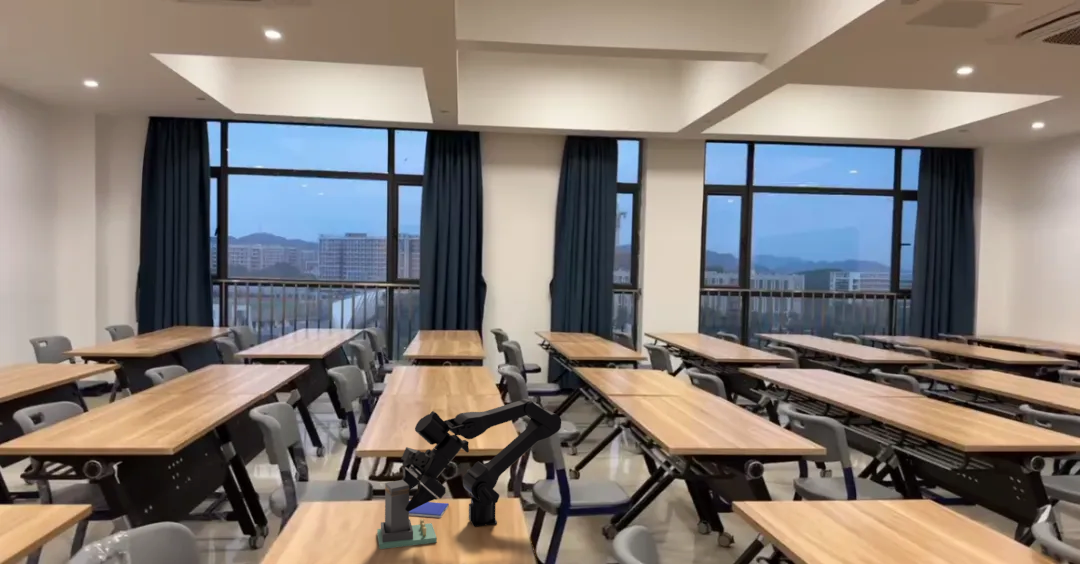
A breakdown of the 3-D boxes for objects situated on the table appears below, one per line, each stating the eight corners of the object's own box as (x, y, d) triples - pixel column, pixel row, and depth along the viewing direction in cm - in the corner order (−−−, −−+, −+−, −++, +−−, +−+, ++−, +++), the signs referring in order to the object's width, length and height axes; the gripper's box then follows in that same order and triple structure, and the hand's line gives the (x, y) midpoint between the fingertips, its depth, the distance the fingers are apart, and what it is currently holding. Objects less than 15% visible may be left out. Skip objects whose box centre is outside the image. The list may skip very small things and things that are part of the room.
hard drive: (397, 510, 177) (440, 514, 176) (407, 499, 185) (448, 502, 184) (397, 516, 177) (440, 519, 176) (407, 504, 185) (448, 508, 184)
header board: (431, 527, 169) (431, 515, 169) (436, 542, 161) (436, 529, 160) (377, 533, 165) (377, 521, 165) (379, 549, 156) (379, 536, 156)
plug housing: (402, 529, 165) (402, 479, 165) (408, 535, 161) (409, 485, 161) (384, 533, 163) (385, 482, 162) (391, 540, 159) (391, 488, 158)
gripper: (409, 427, 172) (368, 474, 167) (433, 446, 156) (389, 498, 151) (437, 451, 176) (398, 498, 171) (463, 472, 160) (421, 524, 155)
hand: (400, 504), depth 162 cm, fingers open, 9 cm apart
